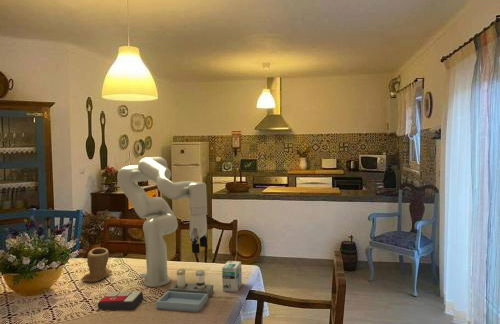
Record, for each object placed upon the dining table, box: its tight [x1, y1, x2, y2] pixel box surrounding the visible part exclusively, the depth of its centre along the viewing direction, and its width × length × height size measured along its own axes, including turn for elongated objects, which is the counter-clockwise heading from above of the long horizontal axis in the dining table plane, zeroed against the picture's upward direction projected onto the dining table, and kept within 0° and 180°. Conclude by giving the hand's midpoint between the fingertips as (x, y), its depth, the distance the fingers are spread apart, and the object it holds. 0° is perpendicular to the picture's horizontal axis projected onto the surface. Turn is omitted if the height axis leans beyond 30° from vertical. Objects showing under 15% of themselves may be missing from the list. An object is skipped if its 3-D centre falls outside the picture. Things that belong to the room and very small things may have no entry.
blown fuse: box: [195, 269, 206, 290], centre depth 172 cm, size 4×4×10 cm
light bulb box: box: [221, 260, 243, 293], centre depth 179 cm, size 11×7×11 cm, turn 168°
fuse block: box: [167, 281, 214, 298], centre depth 173 cm, size 18×8×3 cm, turn 77°
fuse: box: [176, 268, 186, 288], centre depth 174 cm, size 4×4×10 cm
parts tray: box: [155, 290, 209, 313], centre depth 161 cm, size 18×11×3 cm, turn 77°
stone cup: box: [81, 247, 113, 283], centre depth 195 cm, size 15×12×15 cm
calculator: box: [97, 290, 144, 311], centre depth 164 cm, size 11×4×15 cm
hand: (199, 249), depth 171 cm, fingers open, 9 cm apart
